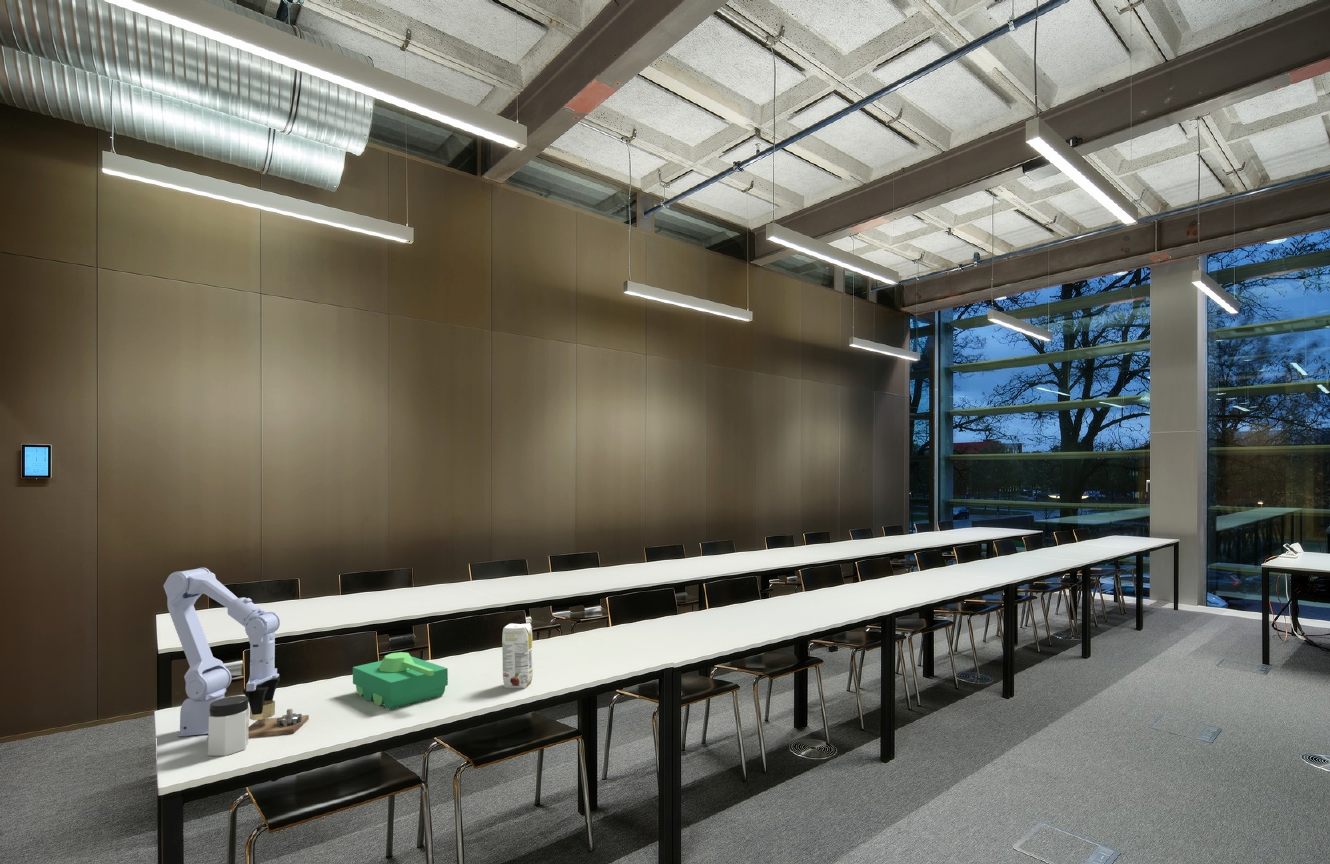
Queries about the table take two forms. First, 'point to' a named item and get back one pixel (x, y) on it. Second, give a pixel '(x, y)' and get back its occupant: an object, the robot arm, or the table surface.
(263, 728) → the gear board
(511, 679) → the juice carton
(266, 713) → the gear ring
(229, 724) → the jar
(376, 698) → the toy tank
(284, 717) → the gear
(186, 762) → the table surface
